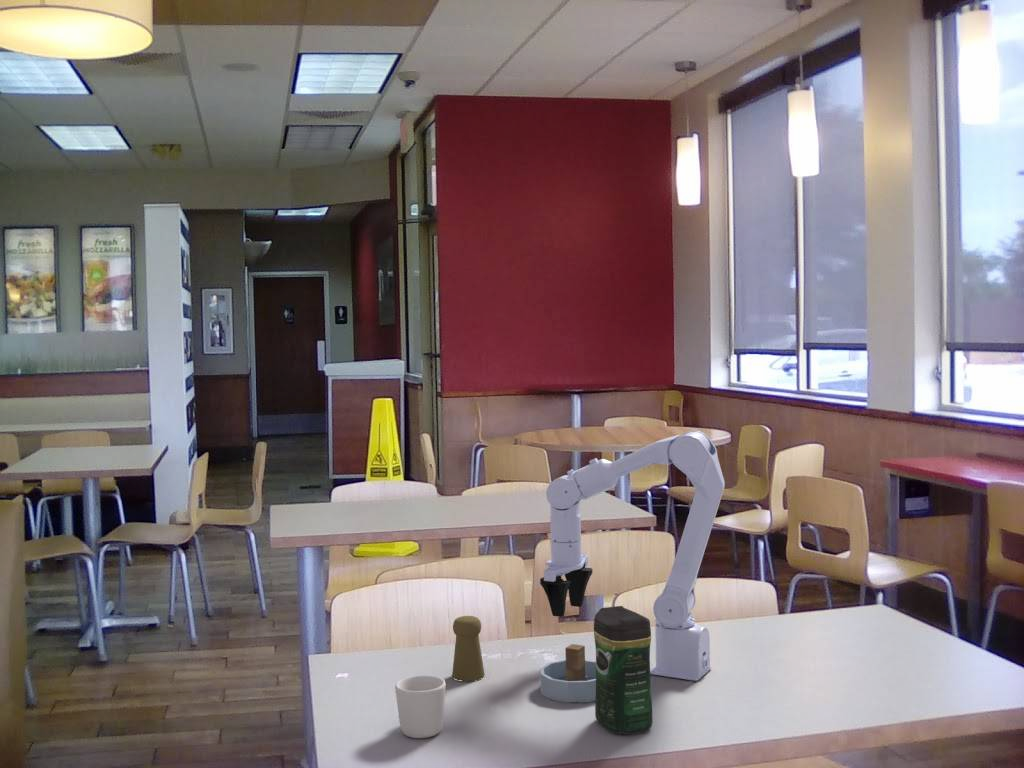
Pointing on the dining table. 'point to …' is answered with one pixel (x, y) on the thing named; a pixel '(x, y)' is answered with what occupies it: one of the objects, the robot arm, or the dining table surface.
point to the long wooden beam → (575, 663)
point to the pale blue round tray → (568, 683)
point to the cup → (421, 705)
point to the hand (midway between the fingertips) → (567, 611)
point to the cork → (467, 649)
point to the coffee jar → (623, 670)
